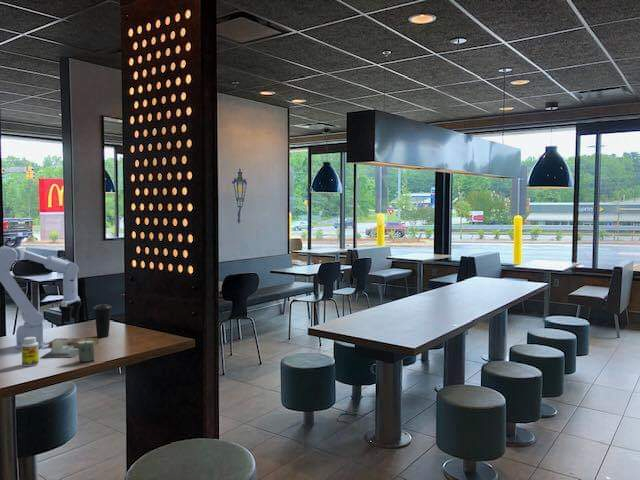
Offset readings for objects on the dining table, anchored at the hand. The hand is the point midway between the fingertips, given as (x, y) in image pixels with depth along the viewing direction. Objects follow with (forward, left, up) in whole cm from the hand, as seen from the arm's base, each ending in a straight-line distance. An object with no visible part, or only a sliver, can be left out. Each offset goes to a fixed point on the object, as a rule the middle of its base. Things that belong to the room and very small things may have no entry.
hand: (70, 319), depth 235 cm
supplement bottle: (-1, -35, -10) cm, 36 cm away
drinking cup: (+11, +8, -10) cm, 17 cm away
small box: (+18, -31, -10) cm, 37 cm away
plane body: (+4, -7, -9) cm, 12 cm away
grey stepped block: (+5, -21, -9) cm, 23 cm away
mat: (+5, -21, -9) cm, 24 cm away
